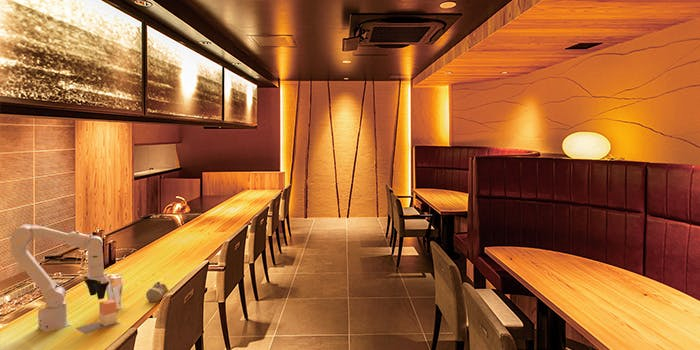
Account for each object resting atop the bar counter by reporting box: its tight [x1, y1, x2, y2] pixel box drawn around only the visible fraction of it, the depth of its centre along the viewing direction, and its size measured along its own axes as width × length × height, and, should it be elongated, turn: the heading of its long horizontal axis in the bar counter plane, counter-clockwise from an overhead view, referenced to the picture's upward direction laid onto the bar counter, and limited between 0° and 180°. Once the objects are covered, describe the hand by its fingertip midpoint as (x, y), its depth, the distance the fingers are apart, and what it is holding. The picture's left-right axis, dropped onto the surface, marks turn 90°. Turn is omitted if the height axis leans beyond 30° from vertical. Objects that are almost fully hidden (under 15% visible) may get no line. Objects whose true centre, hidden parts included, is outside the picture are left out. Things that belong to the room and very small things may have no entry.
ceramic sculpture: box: [145, 281, 170, 303], centre depth 225 cm, size 11×9×15 cm
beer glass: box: [105, 273, 124, 310], centre depth 211 cm, size 7×7×15 cm
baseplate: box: [75, 321, 121, 335], centre depth 190 cm, size 14×9×1 cm, turn 141°
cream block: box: [99, 311, 118, 326], centre depth 193 cm, size 5×4×4 cm
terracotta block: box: [98, 299, 117, 315], centre depth 192 cm, size 5×4×4 cm
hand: (97, 296), depth 195 cm, fingers open, 7 cm apart
